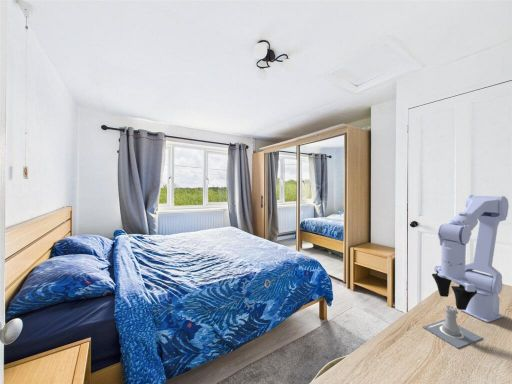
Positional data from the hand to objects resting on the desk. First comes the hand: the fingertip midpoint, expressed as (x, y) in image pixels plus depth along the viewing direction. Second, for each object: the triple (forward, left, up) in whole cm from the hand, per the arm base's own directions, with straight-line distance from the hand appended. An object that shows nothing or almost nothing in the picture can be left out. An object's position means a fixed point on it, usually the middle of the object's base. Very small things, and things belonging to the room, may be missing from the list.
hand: (452, 302), depth 71 cm
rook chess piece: (0, 0, -10) cm, 10 cm away
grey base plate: (0, 0, -10) cm, 10 cm away
